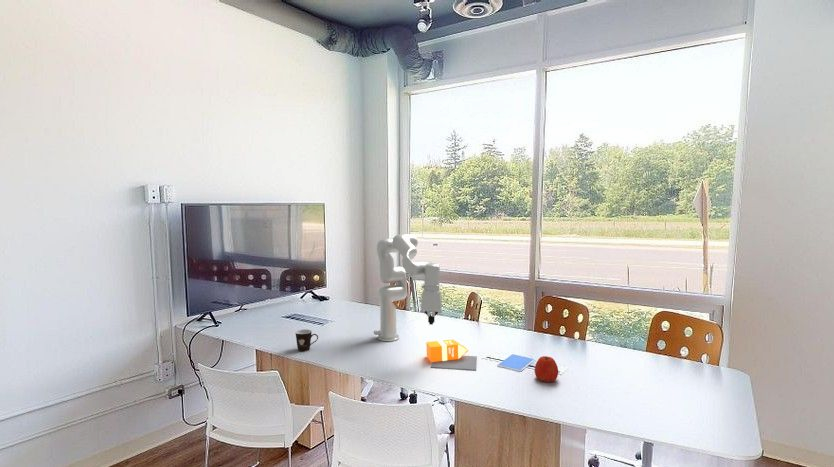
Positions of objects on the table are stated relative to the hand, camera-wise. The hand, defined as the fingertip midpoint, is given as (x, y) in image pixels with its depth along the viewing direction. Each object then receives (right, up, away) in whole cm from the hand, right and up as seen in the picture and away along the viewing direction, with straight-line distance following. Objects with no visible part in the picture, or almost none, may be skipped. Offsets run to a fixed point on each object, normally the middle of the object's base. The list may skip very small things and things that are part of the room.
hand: (431, 323), depth 207 cm
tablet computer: (+43, -20, -2) cm, 47 cm away
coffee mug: (-68, -18, +17) cm, 72 cm away
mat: (+12, -19, -1) cm, 22 cm away
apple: (+51, -21, -22) cm, 59 cm away
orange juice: (-2, -15, +2) cm, 15 cm away
